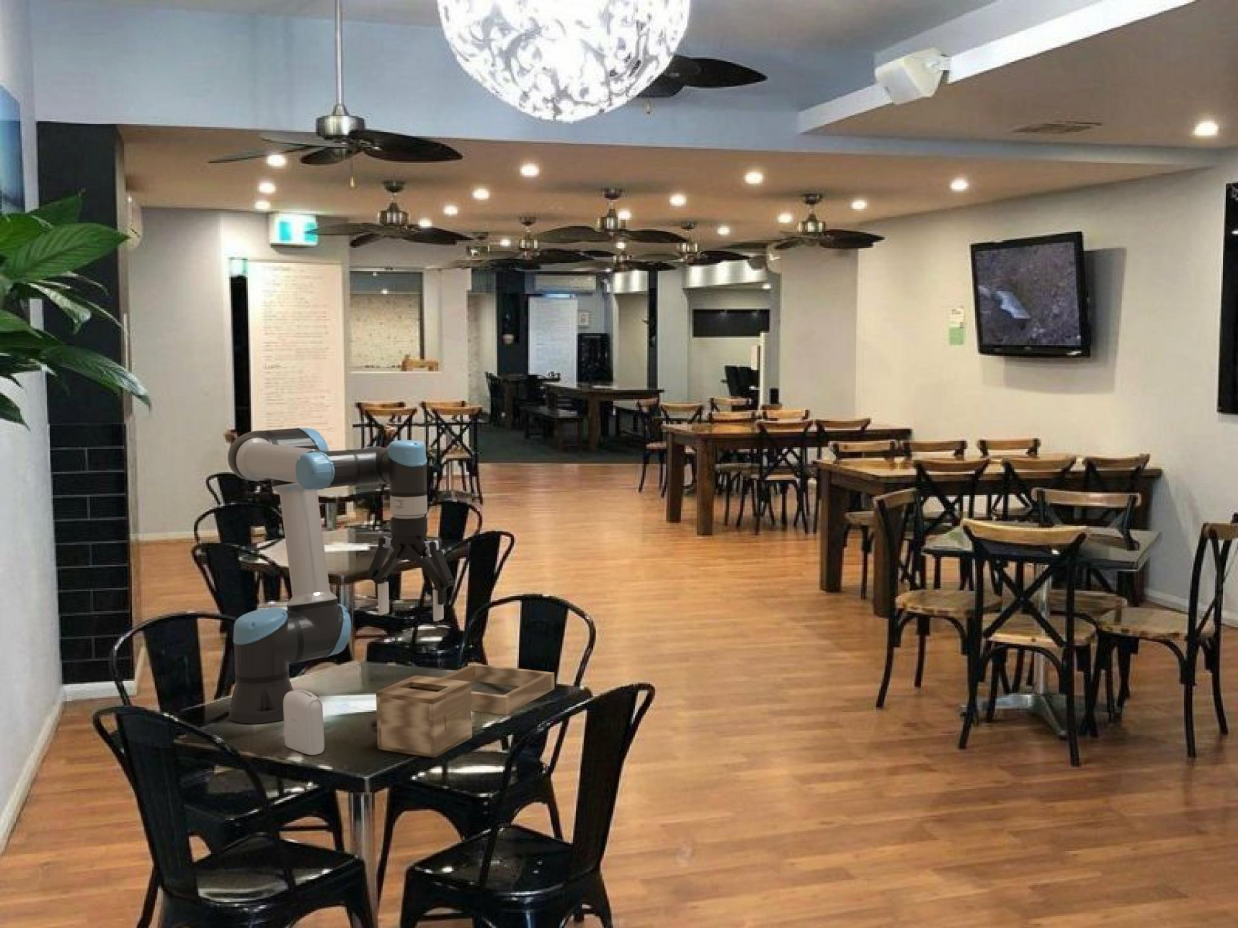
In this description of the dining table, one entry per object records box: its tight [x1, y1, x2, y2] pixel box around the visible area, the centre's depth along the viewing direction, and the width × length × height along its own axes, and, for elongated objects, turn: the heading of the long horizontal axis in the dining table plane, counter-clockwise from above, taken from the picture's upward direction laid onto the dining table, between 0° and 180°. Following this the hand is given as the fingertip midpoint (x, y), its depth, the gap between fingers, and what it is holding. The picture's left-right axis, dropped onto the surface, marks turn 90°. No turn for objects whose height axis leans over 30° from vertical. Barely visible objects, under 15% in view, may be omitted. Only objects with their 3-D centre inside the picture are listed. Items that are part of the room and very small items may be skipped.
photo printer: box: [283, 689, 325, 756], centre depth 245 cm, size 10×4×12 cm, turn 47°
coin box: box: [375, 674, 473, 759], centre depth 248 cm, size 14×14×12 cm
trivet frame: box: [441, 663, 555, 716], centre depth 283 cm, size 23×23×4 cm
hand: (410, 616), depth 248 cm, fingers open, 13 cm apart
